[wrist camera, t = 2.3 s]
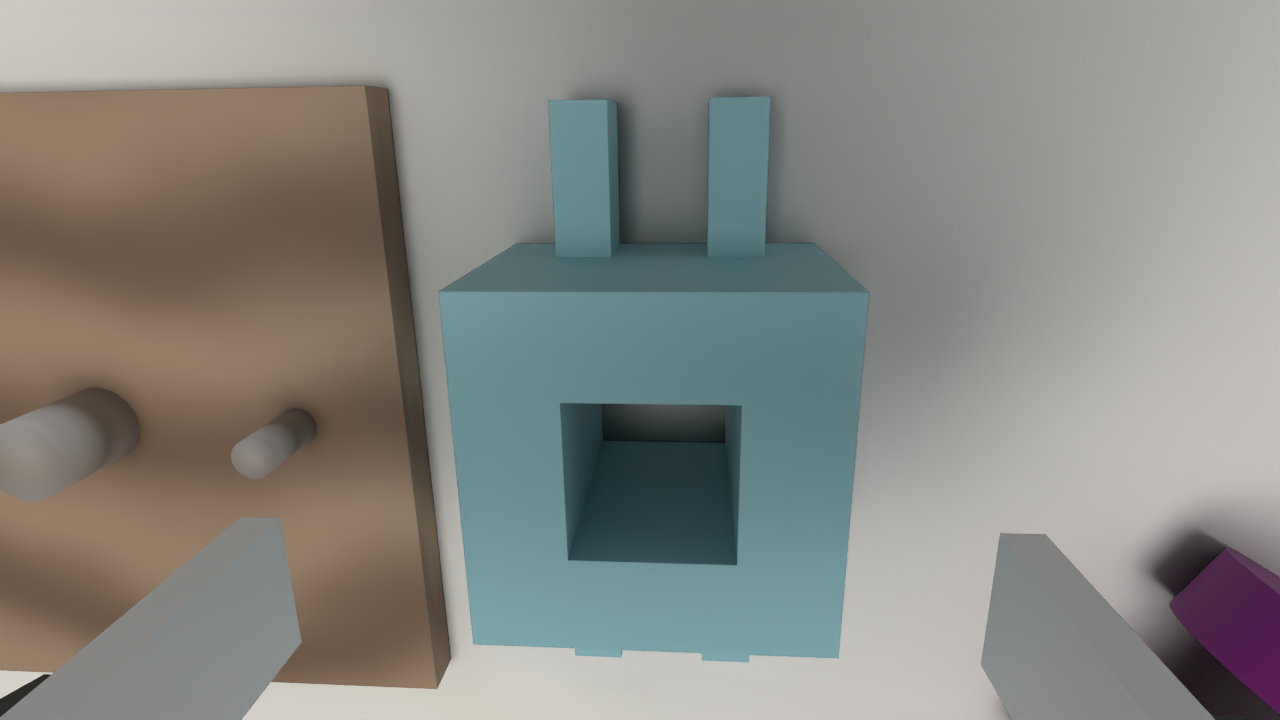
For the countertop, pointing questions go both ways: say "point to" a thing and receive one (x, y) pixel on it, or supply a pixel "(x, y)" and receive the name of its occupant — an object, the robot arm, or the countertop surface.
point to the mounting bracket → (1237, 620)
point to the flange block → (656, 374)
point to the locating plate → (212, 368)
